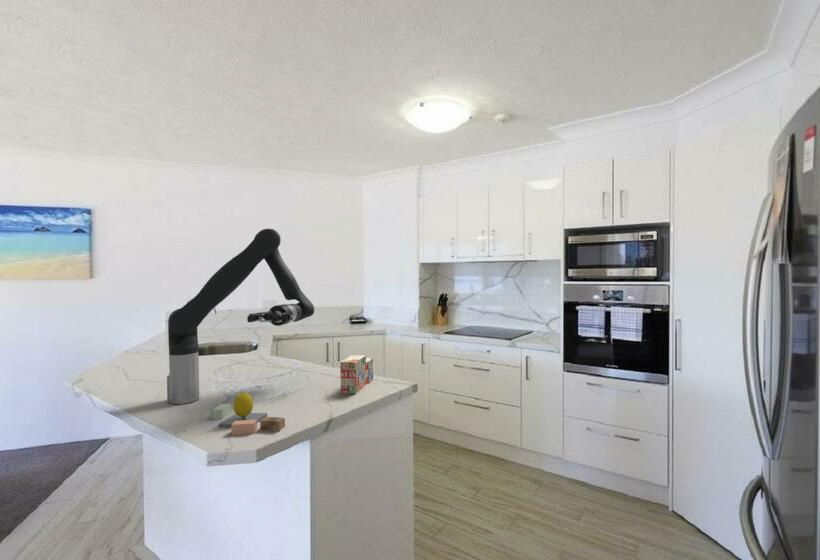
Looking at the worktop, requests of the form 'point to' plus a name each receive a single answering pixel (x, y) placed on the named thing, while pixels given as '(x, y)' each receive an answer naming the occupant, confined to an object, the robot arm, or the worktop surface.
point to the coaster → (235, 417)
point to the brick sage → (221, 411)
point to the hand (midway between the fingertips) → (260, 319)
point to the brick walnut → (272, 423)
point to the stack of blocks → (355, 373)
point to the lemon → (243, 405)
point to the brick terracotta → (244, 427)
